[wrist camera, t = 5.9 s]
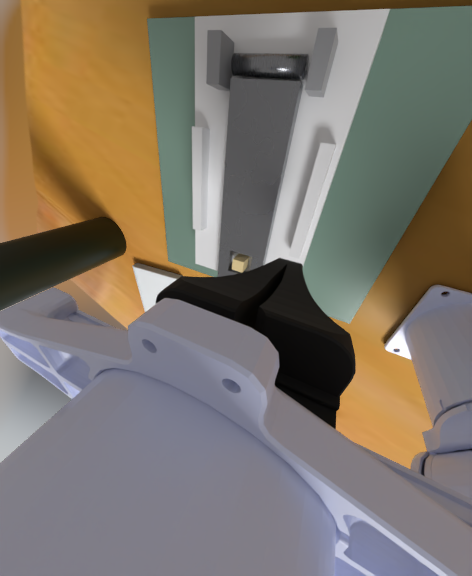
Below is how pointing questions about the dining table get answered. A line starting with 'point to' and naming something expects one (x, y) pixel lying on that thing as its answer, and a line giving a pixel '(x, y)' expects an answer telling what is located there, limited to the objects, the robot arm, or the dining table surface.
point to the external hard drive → (152, 282)
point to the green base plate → (316, 134)
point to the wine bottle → (55, 257)
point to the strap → (257, 151)
